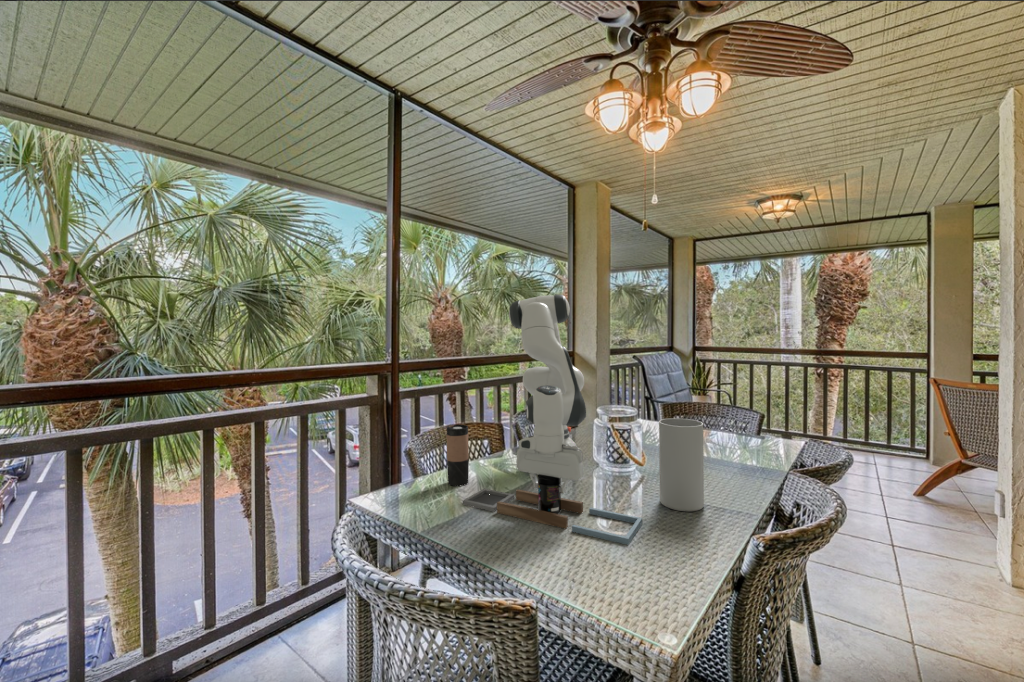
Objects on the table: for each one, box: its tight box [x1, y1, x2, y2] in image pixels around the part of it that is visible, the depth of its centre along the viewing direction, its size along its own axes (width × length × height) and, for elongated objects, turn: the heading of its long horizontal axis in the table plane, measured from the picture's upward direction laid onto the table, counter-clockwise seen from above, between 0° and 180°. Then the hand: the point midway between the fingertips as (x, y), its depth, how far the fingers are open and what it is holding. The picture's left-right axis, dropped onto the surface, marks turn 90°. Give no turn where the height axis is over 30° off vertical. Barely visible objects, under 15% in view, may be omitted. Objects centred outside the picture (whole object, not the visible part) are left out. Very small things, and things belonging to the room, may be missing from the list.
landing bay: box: [571, 507, 644, 546], centre depth 117 cm, size 14×15×2 cm
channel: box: [496, 489, 584, 530], centre depth 128 cm, size 12×22×3 cm, turn 59°
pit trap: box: [462, 488, 515, 512], centre depth 137 cm, size 12×12×1 cm
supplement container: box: [537, 474, 562, 514], centre depth 126 cm, size 7×7×10 cm
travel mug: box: [446, 424, 470, 487], centre depth 154 cm, size 8×8×20 cm
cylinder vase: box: [658, 417, 705, 513], centre depth 132 cm, size 12×12×25 cm
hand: (549, 490), depth 126 cm, fingers closed on supplement container, 7 cm apart
